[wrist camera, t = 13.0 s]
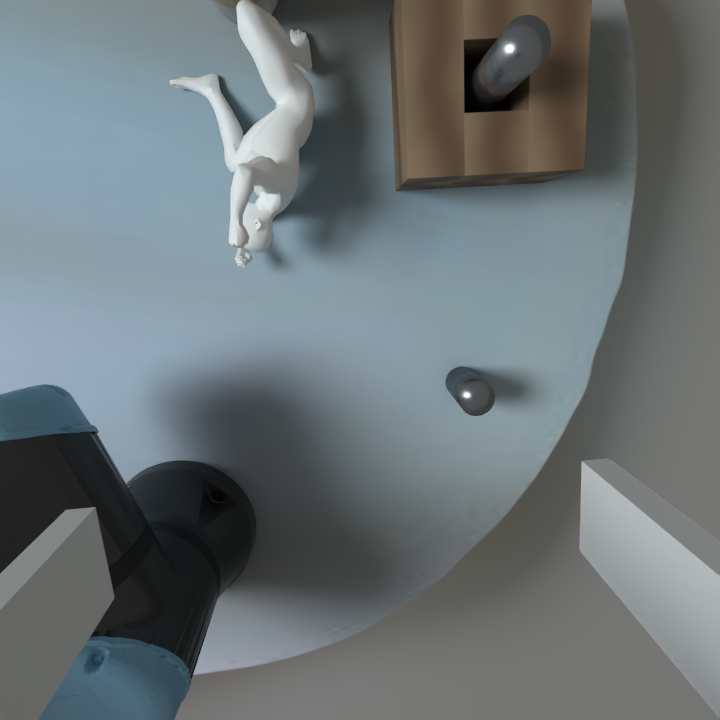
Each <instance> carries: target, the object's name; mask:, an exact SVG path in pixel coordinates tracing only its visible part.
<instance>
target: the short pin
mask: <svg viewBox="0 0 720 720" xmlns="http://www.w3.org/2000/svg"><path fill="white" fill-rule="evenodd" d="M446 387H447V389H448V391H449V392H450V393H451V395H452V396H453V397H454V399H455V400H456V401H457V402H458V404H459V405H460V406H461V408H462V409H463V410H464V411H465V412H466V413H467V414H469V415H473V416H480V415H483V414H485V413H487V412H488V411H489V410H490V409H491V408H492V406H493V404H494V400H495V396H494V392H493V390H492V388H491V387H490V386H489V385H488V384H487V383H485V382H484V381H483V380H482V379H481V378H480V377H479V376H478V375H477V374H476V373H474V372H473V371H472V370H471V369H469V368H467V367H457V368H454V369H453V370H451V371H450V372H449V374H448V375H447V378H446Z"/></svg>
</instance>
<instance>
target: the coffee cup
mask: <svg viewBox="0 0 720 720" xmlns="http://www.w3.org/2000/svg"><path fill="white" fill-rule="evenodd" d="M211 1H212V2H213V3H214V5H215V6H216V7H217V8H218V10H219V11H220V12H221V13H222V14H223V15H224V16H225V17H226V18H227V19H229V20H230V21H232V22H234V23H235V24H238V22H237V11H236V6H237V4H238V2H239V1H241V0H211ZM250 1H252V2H254V3H255V4H257V5H258V6H259V7H261V8H262V9H264V10H265V11H266V12H268V13H269V14H270V15H271V14H272V13H273V11H274V10H275V8H276V6H277V3H278V0H250Z"/></svg>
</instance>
